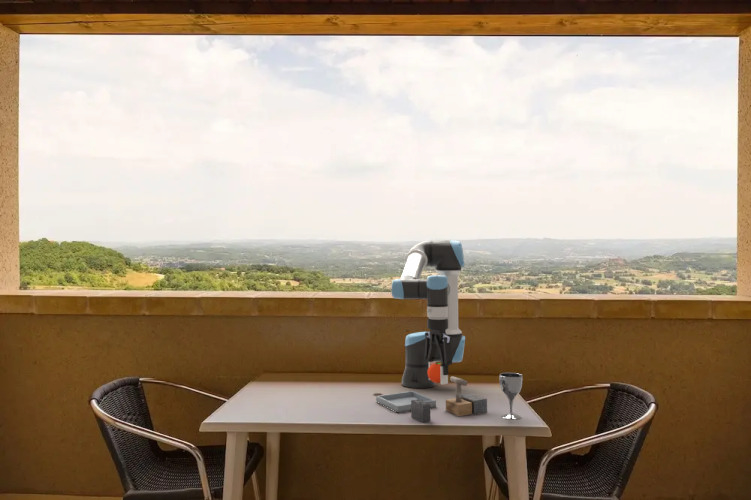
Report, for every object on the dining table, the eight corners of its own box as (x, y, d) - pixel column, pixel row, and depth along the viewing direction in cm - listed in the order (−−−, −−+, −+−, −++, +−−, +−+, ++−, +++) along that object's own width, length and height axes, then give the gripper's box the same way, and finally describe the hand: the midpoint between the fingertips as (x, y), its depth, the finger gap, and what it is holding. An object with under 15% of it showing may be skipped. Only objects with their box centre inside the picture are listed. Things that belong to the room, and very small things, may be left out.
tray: (376, 402, 215) (376, 396, 215) (413, 397, 223) (412, 390, 223) (397, 413, 200) (397, 406, 200) (436, 407, 208) (436, 400, 208)
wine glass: (496, 413, 198) (496, 372, 198) (518, 413, 199) (517, 372, 199) (503, 420, 190) (503, 377, 191) (526, 419, 191) (525, 376, 191)
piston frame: (410, 416, 196) (410, 399, 196) (472, 406, 208) (471, 390, 208) (424, 423, 188) (423, 405, 188) (487, 412, 200) (487, 396, 200)
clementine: (437, 378, 202) (437, 359, 202) (452, 381, 197) (452, 362, 197) (423, 382, 196) (423, 362, 196) (438, 385, 191) (438, 365, 191)
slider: (445, 410, 202) (445, 377, 202) (459, 408, 205) (458, 375, 205) (458, 416, 195) (458, 381, 195) (472, 413, 198) (471, 379, 198)
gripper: (414, 315, 203) (414, 377, 203) (444, 321, 186) (445, 388, 186) (431, 314, 207) (431, 375, 207) (462, 320, 189) (463, 386, 189)
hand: (438, 381), depth 196 cm, fingers closed on clementine, 7 cm apart
